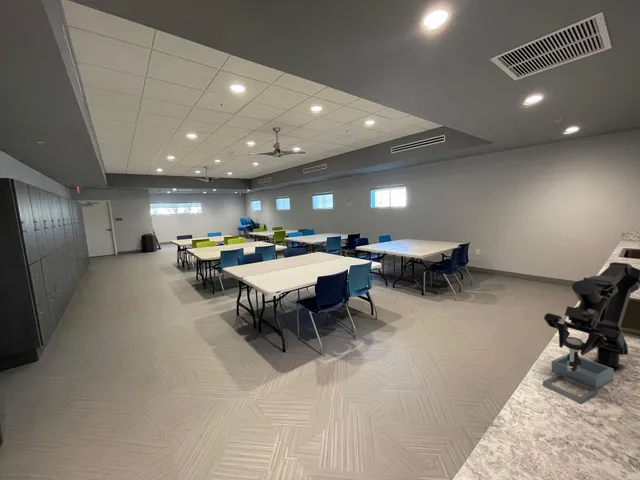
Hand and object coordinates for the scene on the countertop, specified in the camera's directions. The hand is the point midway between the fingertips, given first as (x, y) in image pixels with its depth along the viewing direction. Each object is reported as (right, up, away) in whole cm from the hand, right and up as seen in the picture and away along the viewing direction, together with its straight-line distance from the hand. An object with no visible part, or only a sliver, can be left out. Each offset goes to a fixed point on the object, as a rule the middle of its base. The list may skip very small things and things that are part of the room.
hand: (570, 350), depth 87 cm
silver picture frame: (0, -13, +1) cm, 13 cm away
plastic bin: (+11, -12, +8) cm, 18 cm away
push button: (+2, -7, +1) cm, 7 cm away
